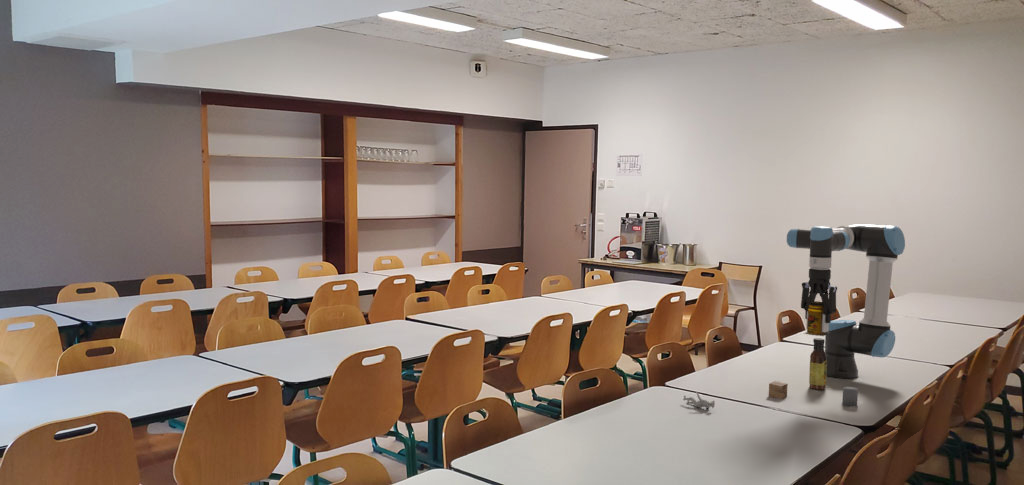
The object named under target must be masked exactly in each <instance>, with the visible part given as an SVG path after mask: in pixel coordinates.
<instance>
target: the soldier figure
mask: <svg viewBox="0 0 1024 485" xmlns="http://www.w3.org/2000/svg"><path fill="white" fill-rule="evenodd" d="M695 393H696V396H697V398H698V400H696V399H695V398H694V397H692V396H690V397H687V396H686V395H683V401H687V402H686V404H687V403H689V404H690V405H691V404H692V405H694V406H695V407H696V408H697V407H699V408H698V409H702V408H706V409H707V408H708V409H710V408H712V409H714V408H715V400H712V401H709V400H707V399H703V398H701V396H700V394H699V392H698V391H696V392H695Z"/></svg>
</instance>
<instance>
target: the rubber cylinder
mask: <svg viewBox="0 0 1024 485" xmlns="http://www.w3.org/2000/svg"><path fill="white" fill-rule="evenodd" d="M858 393H859V389H858V388H857V387H853V386H844V387H842V402H841V403H842V404H841V405H843V406H845V405H846V407H850V406H852V407H853V406H855V407H858V397H859V396H858ZM853 408H854V407H853Z"/></svg>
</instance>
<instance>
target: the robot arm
mask: <svg viewBox="0 0 1024 485" xmlns="http://www.w3.org/2000/svg"><path fill="white" fill-rule="evenodd" d="M786 243H787V246H789V247H790V248H793V249H794V248H795V249H804V250H805V249H807V250H809V259H808V260H809V261H808V262H809V264H808V266H809V267H810V268H809V269H808V278H809V280H808V281H807V282H802V283H801V287H802V293H801V301H800V308H801V309H803V310H804V311H805V313H804V314H805V315H804V318H805V319H806V321H807V320H808V309H809V302H811V301H816V298H817V295H818V294H819V297H820V298H821V302H822V303H823V308H824V312H825V313H823V318H822V332H830V333H829V334H827V335H825V336H824V341H825V342H824V352H825V355H826V358H827V373H826V377H832V378H837V379H838V378H839V379H853V378H857V377H858V376H859V369H858V366H857V363H856V359H855V354H858V355H865V356H871V357H872V358H875V357H876V358H880V359H881V358H886V357H888V356H889V355H890V354H891V353H892V351H893V349H894V346H895V343H896V334H895V332H894V331H893V330H892V329H891V324H890V323H889V322H888V313H889V305H890V304H889V302H890V293H891V292H890V291H891V282H892V273H893V263H894V262H896V261H897V260H898V256H899V255H902V254H903V253H904V250H905V248H906V239H905V235H904V232H903V230H902V228H900V227H899V226H897V225H889V224H867V223H861V224H860V223H859V224H851V225H841V226H837V227H836V228H832V227H831V226H813V227H812V228H806V229H805V228H802V229H800V228H790V229H789V230H788V232H787V234H786ZM844 250H850V251H856V252H860V253H861V252H862V253H863V252H864V253H865V258H867V259H868V261H869V263H868V264H869V265H868V274H867V283H866V284H867V285H866V293H865V303H864V312H863V318H862V319H861V320H859V323H858V325H857V321H856V320H854V319H837V320H831V318H832V317H831V316H832V315H833V314H836V313H837V292H838V291H837V290H838V287H837V286H834V285H831V282H830V280H831V278H832V277H831V276H832V275H831V273H832V270H831V268H832V254H833V253H832V252H840V251H844ZM805 327H806V329H807V322H806V326H805Z"/></svg>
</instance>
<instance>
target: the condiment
mask: <svg viewBox="0 0 1024 485" xmlns="http://www.w3.org/2000/svg"><path fill="white" fill-rule="evenodd" d="M823 313H825V312H824V308H823V303H822V301H818V300H815V301H811V302H809V309H808V320H807V319H806V323H807V328H806V332H804V333H803V334H805V335H809V336H817V337H818V336H819V337H825V335H827V334H829V333H830V332H822V318H823Z"/></svg>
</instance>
